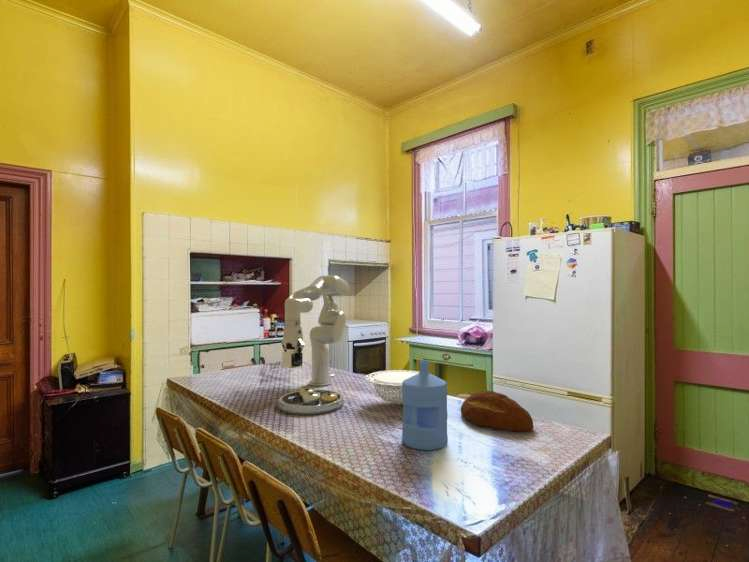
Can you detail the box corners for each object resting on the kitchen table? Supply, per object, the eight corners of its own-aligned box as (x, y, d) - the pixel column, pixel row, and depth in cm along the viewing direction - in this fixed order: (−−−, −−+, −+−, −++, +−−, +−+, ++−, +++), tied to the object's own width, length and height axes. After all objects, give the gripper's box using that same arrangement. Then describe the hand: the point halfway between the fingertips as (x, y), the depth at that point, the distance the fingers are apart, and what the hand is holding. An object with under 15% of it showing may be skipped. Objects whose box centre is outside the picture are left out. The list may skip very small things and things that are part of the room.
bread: (511, 441, 145) (510, 406, 145) (445, 417, 172) (445, 387, 172) (547, 430, 156) (547, 396, 156) (481, 408, 184) (480, 380, 184)
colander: (426, 419, 169) (426, 387, 169) (354, 411, 179) (353, 382, 179) (440, 398, 199) (440, 372, 199) (377, 393, 209) (377, 368, 209)
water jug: (418, 431, 155) (417, 355, 155) (455, 441, 145) (455, 360, 145) (393, 443, 143) (392, 362, 143) (432, 455, 133) (431, 367, 133)
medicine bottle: (291, 368, 199) (291, 343, 200) (281, 366, 204) (282, 342, 204) (302, 366, 205) (302, 341, 205) (293, 364, 209) (293, 340, 210)
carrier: (312, 393, 210) (312, 382, 210) (356, 403, 192) (356, 391, 192) (265, 407, 186) (265, 394, 187) (310, 419, 169) (310, 405, 169)
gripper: (310, 324, 202) (310, 360, 202) (287, 322, 213) (286, 357, 213) (298, 325, 196) (298, 362, 196) (275, 323, 207) (275, 359, 207)
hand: (292, 359), depth 204 cm, fingers closed on medicine bottle, 7 cm apart
